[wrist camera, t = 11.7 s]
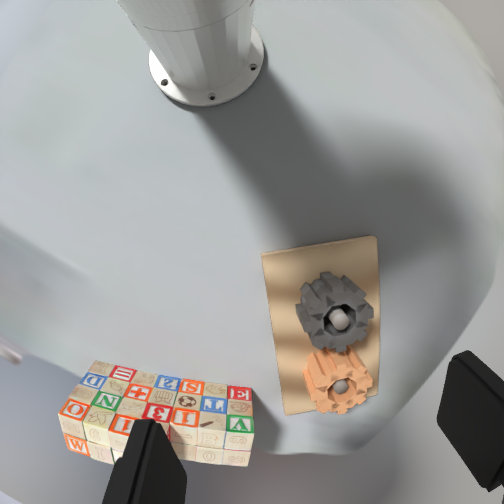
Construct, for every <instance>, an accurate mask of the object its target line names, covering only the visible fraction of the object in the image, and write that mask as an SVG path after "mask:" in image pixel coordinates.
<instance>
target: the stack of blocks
mask: <svg viewBox="0 0 504 504" xmlns="http://www.w3.org/2000/svg"><path fill="white" fill-rule="evenodd" d="M58 416H59V420H60V423H61V427H62V431H63V432H64V437H65V441H66V444H67V447H68V449H69V450H72V451H74V452H78V453H80V454H83V455H86V456H89V457H91V458H93V459H96V460H99V461H102V462H106V463H109V464H115V462H116V460H117V459H118V458H119V457H122V455H123V452H124V449H125V446H126V443H127V440H128V437H129V434H130V431H131V429H132V426H133V423H134V421H135V420H136V419H154V420H155V421H156V423H160V424H161V425H162V427H163V429H164V431H165V433H166V435H167V437H168V439H169V441H170V443H171V445H172V447H173V449H174V451H175V453H176V455H177V457H178V459H184V460H191V461H196V462H203V463H211V464H224V465H235V466H247V465H248V462H249V457H250V453H251V447H252V443H253V438H254V418H253V405H252V391H251V388H246V387H236V386H227V385H224V384H216V383H208V382H201V381H195V380H189V379H180V378H174V377H168V376H163V375H157V374H151V373H146V372H141V371H137V370H134V369H129V368H125V367H121V366H116V365H113V364H109V363H104V362H100V361H95V362H94V363H93V365H92V366H91V367H90V369H89V370H88V372H87V373H86V375H85V376H84V377H83V379H82V380H81V381H80V383H79V384H78V385H77V386H76V387H75V388H74V390H73V391H72V393H71V394H70V396H69V397H68V400H67V402H66V403H65V405H64V406H63V407H62V409H61V410H60V411H59V413H58Z"/></svg>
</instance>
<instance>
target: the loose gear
mask: <svg viewBox="0 0 504 504" xmlns="http://www.w3.org/2000/svg"><path fill="white" fill-rule="evenodd" d="M346 348H347V351H342V352H338V353H336V351H335V349H334V348H332V349H329V348H328V347H326V349H322V350H320V351H319V352H318V353H317V354H315V353H314V352H312V353H311V354H310V355H309V356H308V357H307V361H308V364H307V370H302V373H303V379H304V382H305V385H306V388H307V391H308V394H309V397H310V400H311V401H314V402H315V405H316V408H317V411H319V412H321V413H324V414H325V413H326V412H327V411H328V410H329V411H331V412H335V411H337V414H338V415H339V414H343V413H347V408H351V407H353V406H354V405H355V404H356V403H357V404H359V405H361V404H362V403H363V402H364V401H365V399H366V397H365V394H366V393H367V388H369V387H372V381H373V379H372V378H371V376H370V374H369V373H368V371H367V368H366V366H365V365H364V363H363V362H362V360H361V359H360V357H359V356H358V354H357V353H356V351H355V350H354V348H352V347H351V346H349V345H346ZM340 379H345V381H346V383H347V385H348V389H347V391H346V392H344V393H342V394H337V393H336V392H335V391H334V388H333V386H332V384H333V383H334V382H335V381H336V380H340Z"/></svg>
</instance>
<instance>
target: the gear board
mask: <svg viewBox="0 0 504 504" xmlns="http://www.w3.org/2000/svg"><path fill="white" fill-rule="evenodd" d="M261 258H262V264H263V271H264V277H265V284H266V290H267V297H268V304H269V310H270V317H271V324H272V330H273V337H274V344H275V351H276V357H277V364H278V371H279V378H280V385H281V392H282V399H283V406H284V411H285V415H291V414H297V413H302V412H307V411H312V410H317V408H316V405H315V402H314V401H311V400H310V397H309V394H308V391H307V388H306V385H305V382H304V379H303V373H302V370H307V364H308V361H307V357H308V356H309V355H310V354H311V353H312V352H314V353H315V354H317V353H318V352H319V351H320V350H322V349H326V347H328V348H329V349H332V348H334V349H335V351H336V353H338V352H342V351H347V348H346V345H349V346H351V347H352V348H354V350H355V351H356V353H357V354H358V356H359V357H360V359H361V360H362V362H363V363H364V365H365V366H366V368H367V371H368V373H369V374H370V376H371V378H372V379H373V381H372V387H369V388H367V393H366V394H365V397H370V396H373V395H377V391H378V373H379V345H380V297H379V268H378V249H377V237H374V236H372V235H370V236H364V237H358V238H352V239H346V240H340V241H334V242H327V243H321V244H315V245H309V246H303V247H297V248H291V249H285V250H278V251H272V252H266V253H261ZM332 386H333V388H334V391H335V392H336V393H337V394H342V393H344V392H346V391H347V389H348V385H347V383H346V381H345V379H340V380H336V381H335V382H334V383H333V384H332Z"/></svg>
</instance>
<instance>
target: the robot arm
mask: <svg viewBox="0 0 504 504" xmlns="http://www.w3.org/2000/svg"><path fill="white" fill-rule="evenodd" d="M117 2H118V3H119V5H120V6H121V7H122V9H123V10H124V12H125V13H126V15H127V16H128V18H129V19H130V21H131V22H132V23H133V25H134V26H135V28H136V29H137V31H138V32H139V33H140V35H141V36H142V38H143V39H144V41H145V42H146V44H147V45H148V47H149V48H150V54H149V67H150V72H151V75H152V77H153V79H154V81H155V83H156V84H157V86H158V87H159V88H160V89H161V90H162V91H163V92H164V93H165V94H166V95H167V96H169V97H170V98H172V99H173V100H175V101H178V102H180V103H183V104H186V105H191V106H213V105H218V104H221V103H225V102H228V101H230V100H232V99H234V98H236V97H238V96H239V95H240V94H242V93H243V92H244V91H246V90H247V89H248V88H249V87H250V86H251V85H252V84H253V82H254V81H255V79H256V78H257V76H258V75H259V72H260V70H261V67H262V63H263V59H264V47H263V42H262V39H261V37H260V34H259V32H258V31H257V29H256V28H255V27H254V25H253V15H254V5H255V0H117ZM251 68H254V69H255V70H254V71H252V70H251ZM165 83H168V85H166V86H164V84H165ZM211 97H215V99H214V100H210V98H211ZM437 423H438V425H439V427H440V428H441V430H442V431H443V433H444V434H445V435H446V437H447V438H448V440H449V441H450V443H451V444H452V445H453V447H454V448H455V450H456V451H457V452H458V454H459V455H460V456H461V458H462V460H463V461H464V463H465V464H466V465H467V467H468V468H469V470H470V471H471V473H472V474H473V476H474V477H475V479H476V480H477V482H478V483H479V485H480V486H481V487H483V488H486V489H487V490H488V492H490V491H492V490H494V489H495V488H497V487H498V486H500V485H501V484H502V485H503V487H504V381H503V380H502V379H501V378H500V377H499V376H498V375H497V374H496V373H494V372H493V371H492V370H491V369H490V368H489V367H488V366H487V365H486V364H484V363H483V362H482V361H481V360H480V359H479V358H478V357H477V356H475V355H474V354H473V353H472V352H471V351H469V350H466V351H464V352H462V353H459V354H457V355H454V356H453V357H452V360H451V361H450V362H449V365H448V370H447V375H446V380H445V384H444V389H443V394H442V398H441V403H440V406H439V410H438V414H437ZM186 485H187V475H186V472H185V470H184V468H183V466H182V464H181V462H180V460H179V459H178V457H177V455H176V453H175V451H174V449H173V447H172V445H171V443H170V441H169V439H168V437H167V435H166V433H165V431H164V429H163V427H162V425H161V424H160V423H156V421H155V420H154V419H136V420H135V421H134V423H133V426H132V429H131V431H130V434H129V437H128V440H127V443H126V446H125V449H124V452H123V455H122V457H119V458H118V459H117V460H116V462H115V465H114V468H113V471H112V474H111V477H110V480H109V483H108V486H107V489H106V492H105V496H104V499H103V502H102V504H184V503H185V494H186ZM502 504H504V495H503V500H502Z"/></svg>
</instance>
